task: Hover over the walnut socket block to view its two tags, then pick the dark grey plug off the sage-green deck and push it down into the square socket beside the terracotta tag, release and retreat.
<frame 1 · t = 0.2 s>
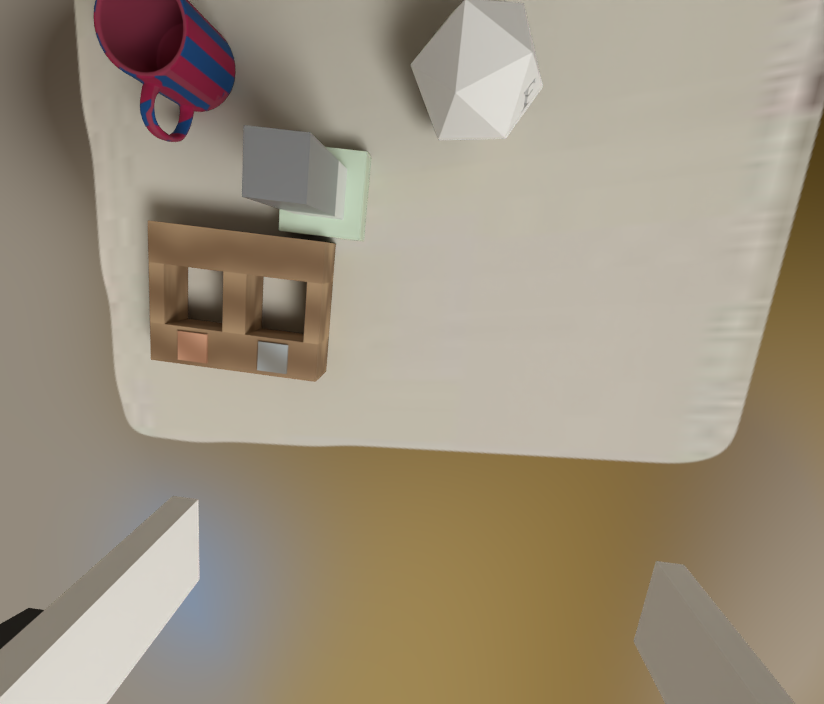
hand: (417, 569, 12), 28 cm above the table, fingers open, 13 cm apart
socket block: (252, 299, 39), on the table
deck: (328, 195, 36), on the table
die: (473, 97, 34), on the table
mug: (195, 90, 35), on the table
plug: (321, 192, 34), point 2 cm above the table, touching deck
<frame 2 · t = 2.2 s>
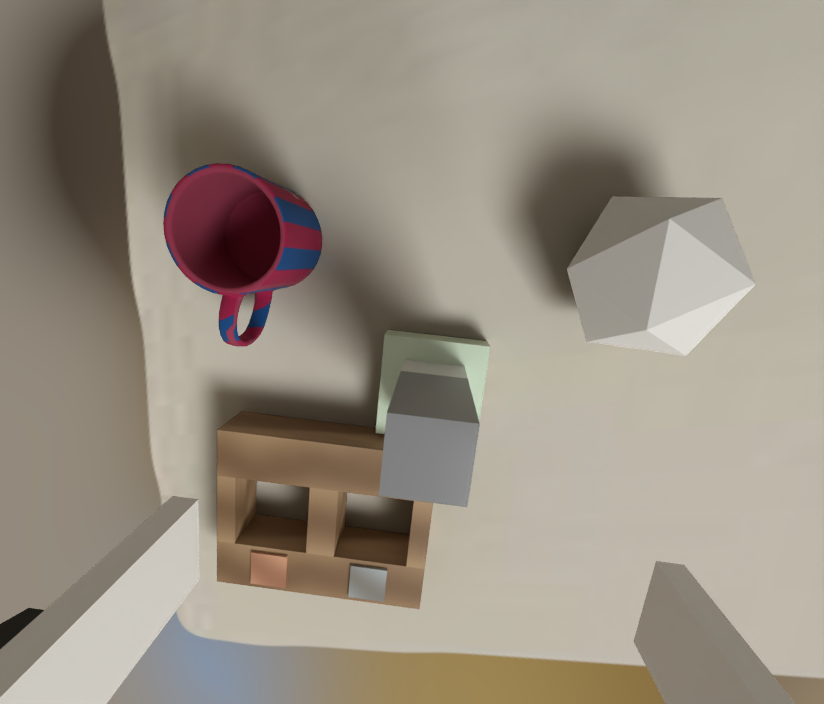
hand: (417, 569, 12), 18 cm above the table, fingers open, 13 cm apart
socket block: (334, 495, 32), on the table
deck: (431, 382, 30), on the table
die: (617, 273, 28), on the table
mug: (271, 262, 29), on the table
plug: (431, 391, 28), point 2 cm above the table, touching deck
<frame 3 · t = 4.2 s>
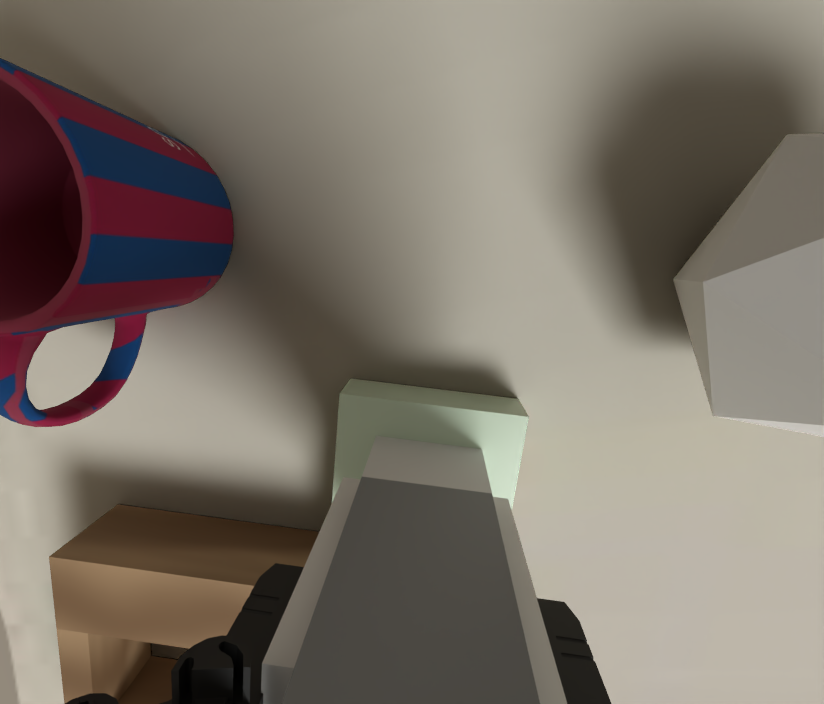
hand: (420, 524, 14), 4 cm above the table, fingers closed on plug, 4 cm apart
socket block: (270, 631, 20), on the table
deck: (424, 465, 18), on the table
die: (751, 286, 16), on the table
mug: (152, 264, 17), on the table
plug: (422, 490, 16), point 2 cm above the table, touching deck, gripper
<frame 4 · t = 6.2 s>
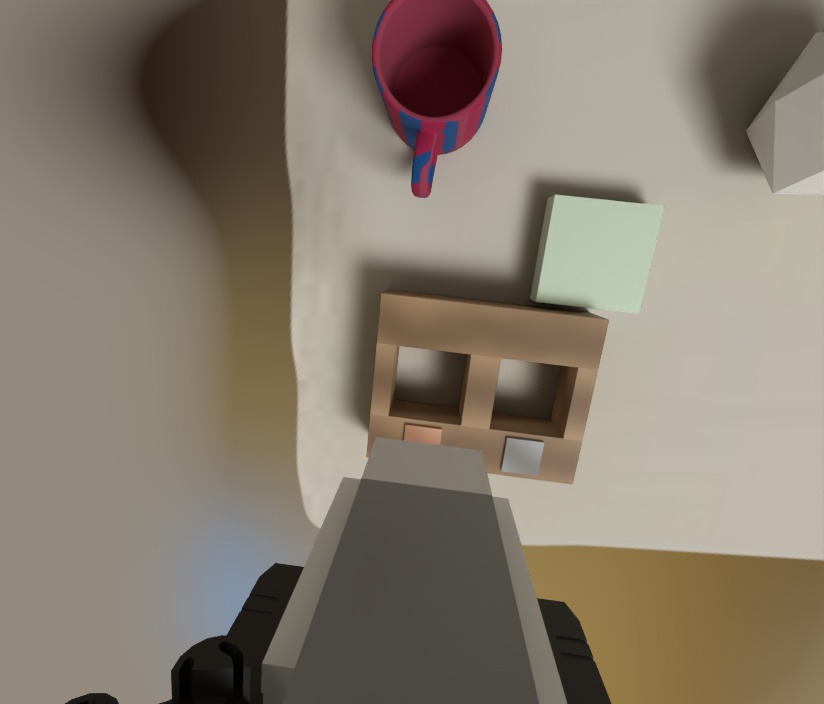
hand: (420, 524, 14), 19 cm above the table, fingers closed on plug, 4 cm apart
socket block: (476, 378, 32), on the table
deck: (587, 255, 29), on the table
die: (791, 135, 27), on the table
mug: (430, 128, 28), on the table
plug: (422, 491, 16), point 17 cm above the table, touching gripper
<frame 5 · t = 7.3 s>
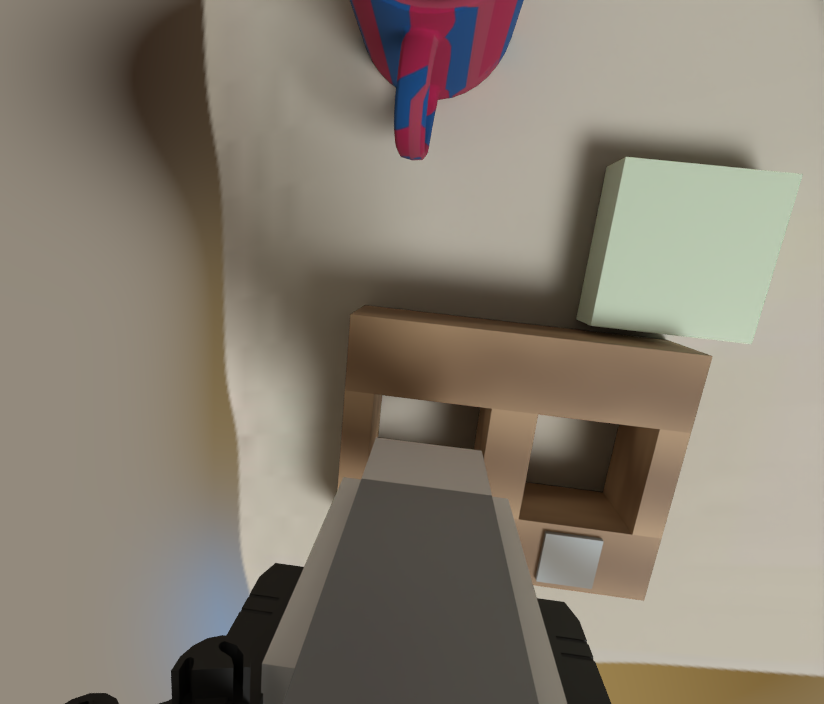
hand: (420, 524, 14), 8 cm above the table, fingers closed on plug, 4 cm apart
socket block: (495, 433, 22), on the table
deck: (665, 254, 19), on the table
mug: (427, 59, 18), on the table
plug: (422, 491, 16), point 6 cm above the table, touching gripper
when the fingers open (5 cm above the table, at t = 8.2 s): plug drops 3 cm, resting in socket block.
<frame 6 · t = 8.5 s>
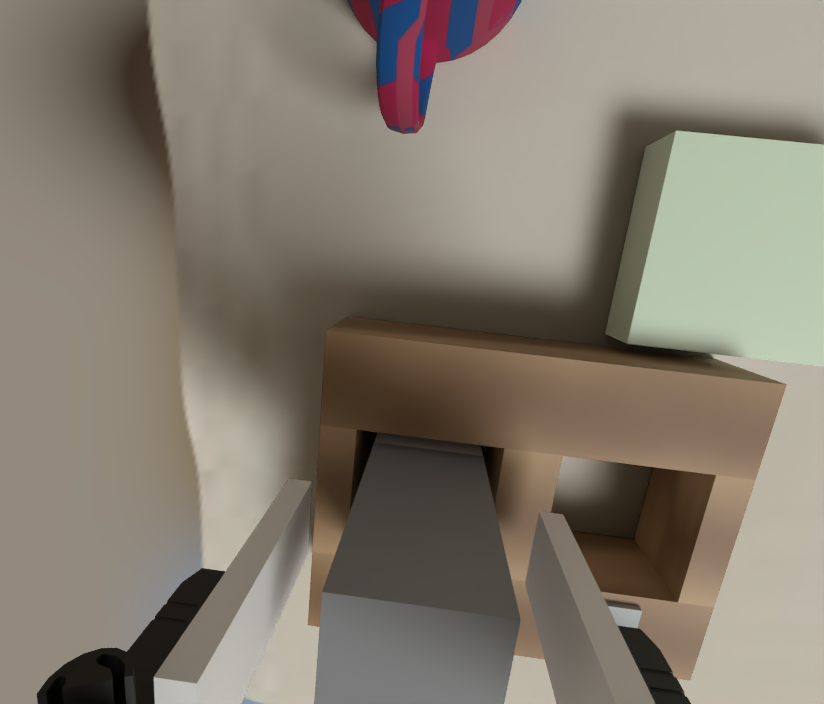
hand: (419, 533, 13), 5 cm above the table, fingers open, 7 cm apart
socket block: (505, 469, 18), on the table
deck: (716, 255, 16), on the table
mug: (423, 12, 15), on the table
plug: (424, 459, 18), resting in socket block
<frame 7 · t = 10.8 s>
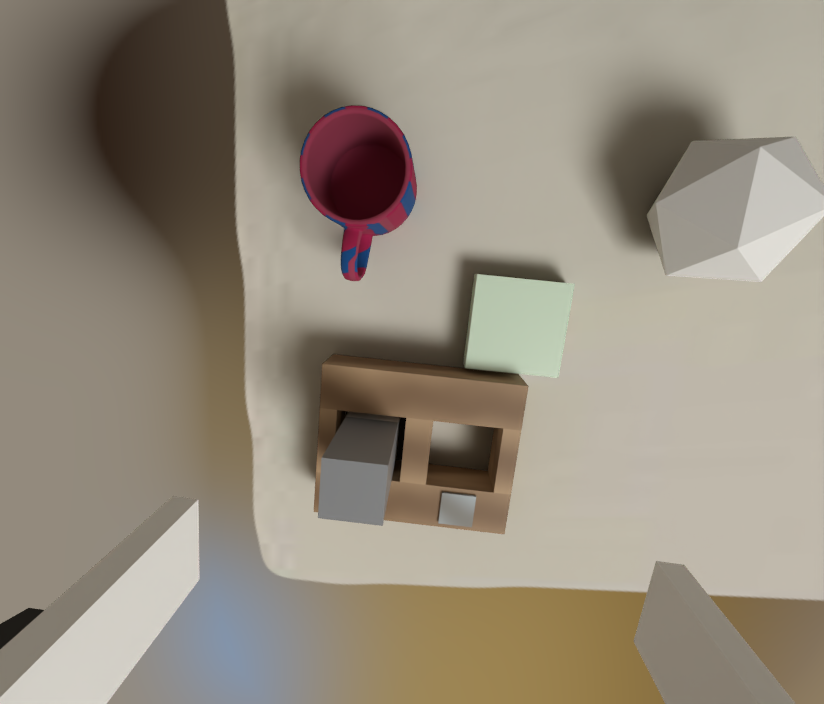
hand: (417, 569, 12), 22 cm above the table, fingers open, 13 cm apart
socket block: (417, 433, 34), on the table
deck: (513, 323, 32), on the table
die: (686, 218, 30), on the table
mug: (367, 212, 31), on the table
plug: (375, 429, 35), resting in socket block
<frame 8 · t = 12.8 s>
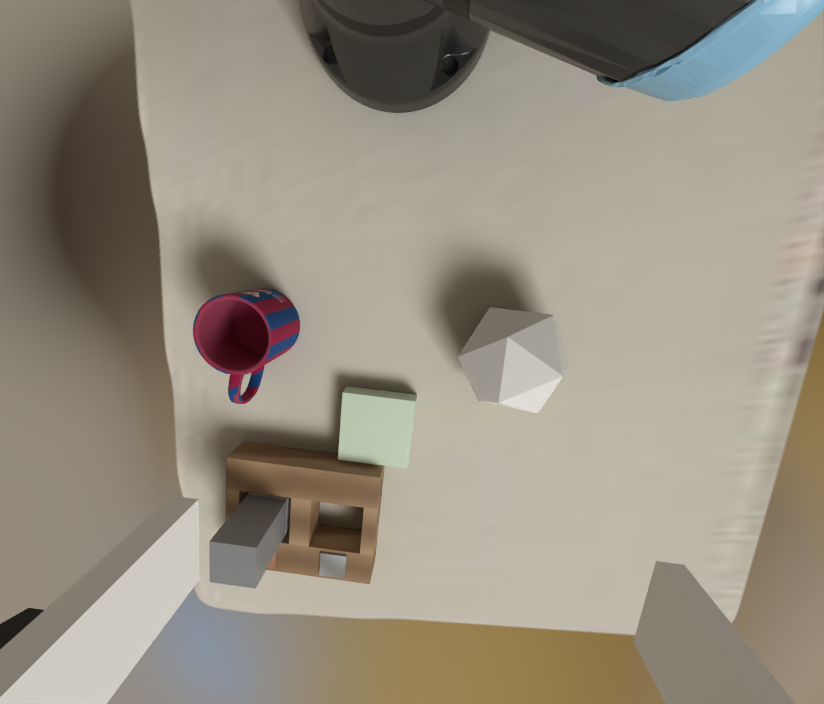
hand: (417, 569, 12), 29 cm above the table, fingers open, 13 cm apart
socket block: (310, 502, 44), on the table
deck: (378, 423, 42), on the table
die: (506, 349, 40), on the table
mug: (264, 338, 41), on the table
plug: (277, 498, 44), resting in socket block
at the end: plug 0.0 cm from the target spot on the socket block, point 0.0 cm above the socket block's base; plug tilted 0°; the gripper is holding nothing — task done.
